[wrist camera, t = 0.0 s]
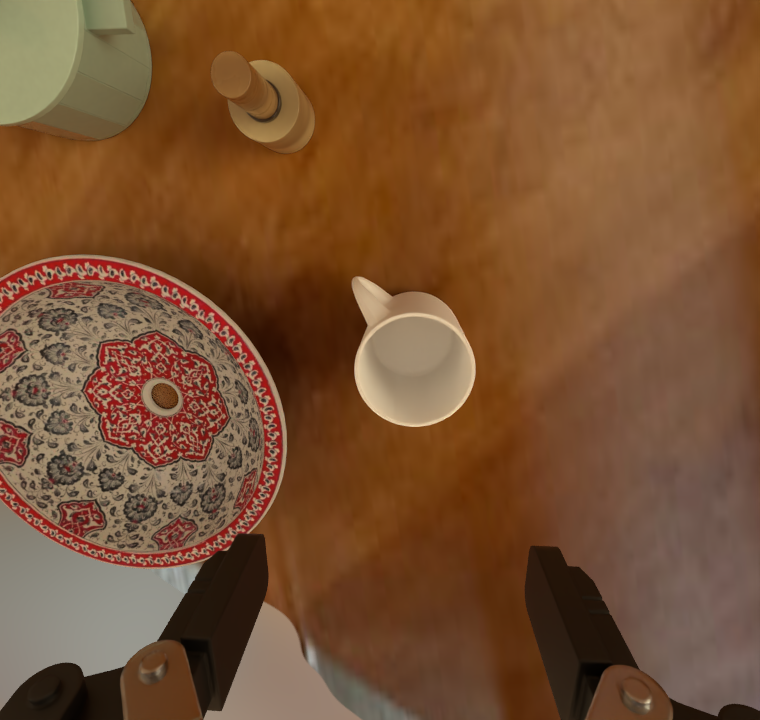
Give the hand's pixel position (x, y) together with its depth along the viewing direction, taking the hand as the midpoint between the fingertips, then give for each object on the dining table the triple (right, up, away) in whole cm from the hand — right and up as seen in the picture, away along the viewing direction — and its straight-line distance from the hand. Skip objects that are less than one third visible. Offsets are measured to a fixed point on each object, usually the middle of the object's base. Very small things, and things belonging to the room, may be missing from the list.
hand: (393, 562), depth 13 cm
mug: (+2, +10, +28) cm, 30 cm away
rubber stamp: (-8, +26, +23) cm, 36 cm away
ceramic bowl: (-22, +3, +32) cm, 39 cm away
